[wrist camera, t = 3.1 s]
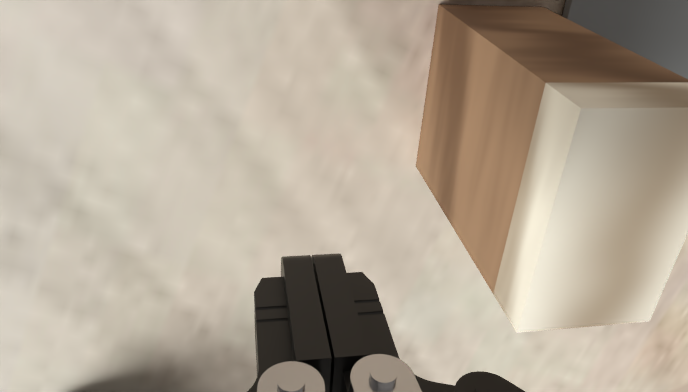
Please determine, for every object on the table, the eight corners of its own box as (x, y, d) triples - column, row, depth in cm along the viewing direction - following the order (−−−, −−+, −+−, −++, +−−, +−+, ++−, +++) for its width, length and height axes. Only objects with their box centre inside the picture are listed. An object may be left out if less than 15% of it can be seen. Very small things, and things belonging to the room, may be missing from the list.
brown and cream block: (416, 166, 30) (517, 332, 19) (438, 4, 26) (580, 108, 15) (507, 163, 30) (649, 321, 20) (543, 7, 26) (742, 106, 16)
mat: (513, 211, 32) (517, 216, 32) (581, -64, 25) (588, -62, 25) (694, 203, 34) (700, 208, 34) (804, -53, 27) (814, -51, 27)
